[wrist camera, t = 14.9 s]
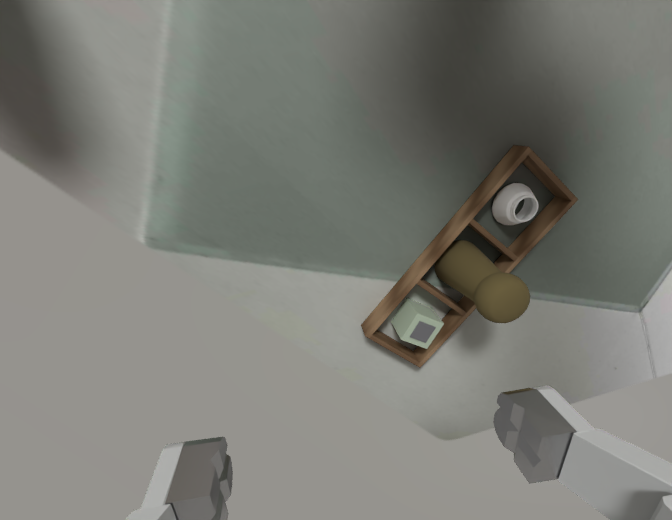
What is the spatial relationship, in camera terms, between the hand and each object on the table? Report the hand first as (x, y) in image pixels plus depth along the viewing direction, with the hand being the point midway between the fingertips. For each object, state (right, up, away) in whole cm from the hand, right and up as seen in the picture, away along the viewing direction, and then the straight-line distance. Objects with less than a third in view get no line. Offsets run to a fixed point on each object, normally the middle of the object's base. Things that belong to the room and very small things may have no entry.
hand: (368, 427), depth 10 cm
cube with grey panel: (+9, -2, +34) cm, 36 cm away
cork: (+14, +5, +32) cm, 36 cm away
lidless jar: (+20, +12, +31) cm, 38 cm away
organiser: (+15, +5, +32) cm, 36 cm away
